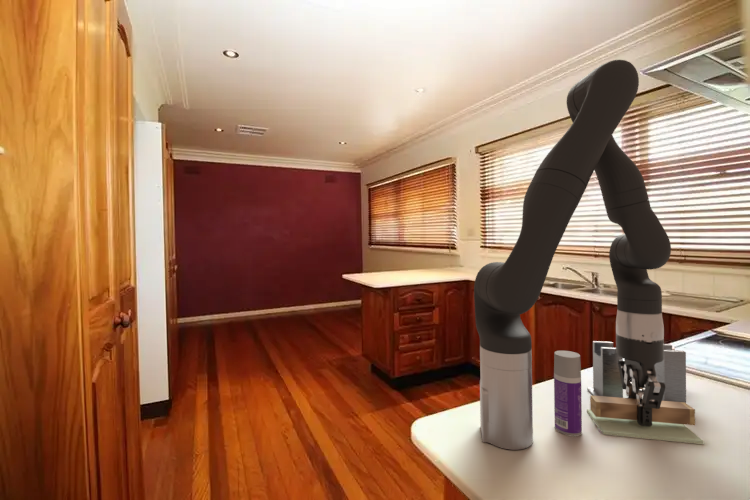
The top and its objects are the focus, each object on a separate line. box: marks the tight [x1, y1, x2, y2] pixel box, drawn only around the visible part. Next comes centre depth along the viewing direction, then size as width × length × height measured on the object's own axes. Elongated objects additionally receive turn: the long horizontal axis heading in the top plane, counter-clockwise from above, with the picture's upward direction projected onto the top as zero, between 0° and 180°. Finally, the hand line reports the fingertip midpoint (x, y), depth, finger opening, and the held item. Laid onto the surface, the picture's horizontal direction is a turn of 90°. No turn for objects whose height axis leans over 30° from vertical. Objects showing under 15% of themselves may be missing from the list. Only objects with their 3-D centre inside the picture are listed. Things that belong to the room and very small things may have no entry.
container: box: [553, 350, 583, 437], centre depth 68 cm, size 5×5×15 cm
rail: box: [589, 394, 696, 426], centre depth 69 cm, size 17×3×3 cm, turn 76°
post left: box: [586, 340, 624, 398], centre depth 82 cm, size 6×8×12 cm
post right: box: [654, 343, 695, 409], centre depth 79 cm, size 6×8×12 cm
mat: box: [586, 409, 705, 445], centre depth 69 cm, size 16×9×1 cm, turn 76°
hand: (639, 420), depth 69 cm, fingers open, 3 cm apart
